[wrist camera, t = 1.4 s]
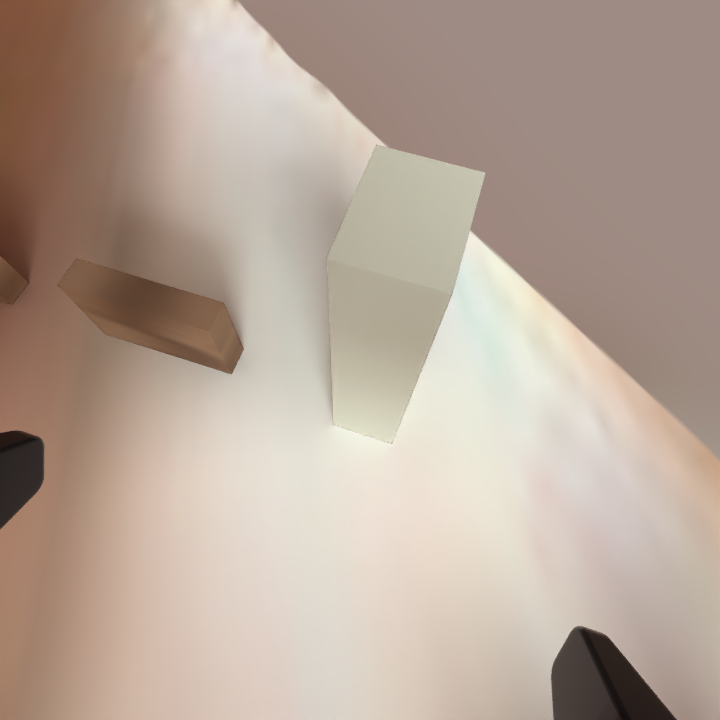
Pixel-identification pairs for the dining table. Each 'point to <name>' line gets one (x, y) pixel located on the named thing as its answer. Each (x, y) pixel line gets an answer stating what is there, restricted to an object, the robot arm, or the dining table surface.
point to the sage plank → (393, 282)
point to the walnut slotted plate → (144, 313)
